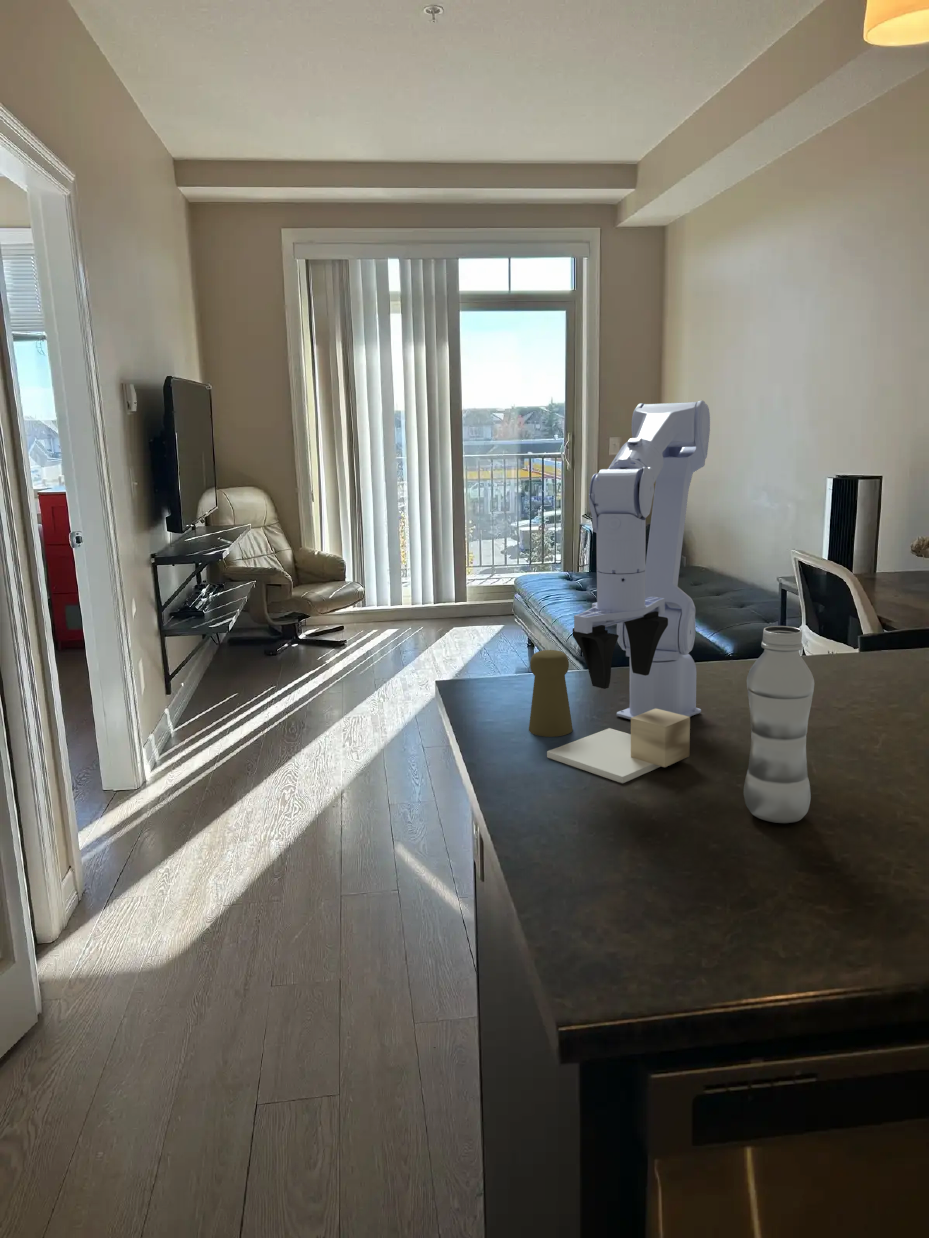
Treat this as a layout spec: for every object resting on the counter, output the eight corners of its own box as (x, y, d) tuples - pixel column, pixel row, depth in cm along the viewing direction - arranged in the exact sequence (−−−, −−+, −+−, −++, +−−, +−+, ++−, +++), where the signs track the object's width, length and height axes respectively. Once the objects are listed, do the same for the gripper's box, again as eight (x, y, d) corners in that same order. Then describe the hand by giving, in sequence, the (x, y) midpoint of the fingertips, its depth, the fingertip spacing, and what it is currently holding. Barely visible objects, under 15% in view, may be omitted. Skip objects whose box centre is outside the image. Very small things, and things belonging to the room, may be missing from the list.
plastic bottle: (778, 836, 88) (785, 640, 84) (728, 812, 94) (733, 628, 90) (824, 821, 91) (833, 631, 87) (773, 798, 97) (780, 619, 93)
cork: (570, 737, 118) (569, 657, 116) (525, 736, 120) (523, 656, 117) (574, 722, 124) (573, 646, 122) (531, 721, 125) (529, 645, 123)
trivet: (609, 733, 119) (609, 728, 119) (684, 756, 110) (684, 749, 110) (547, 757, 112) (547, 751, 111) (622, 783, 103) (622, 776, 103)
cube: (655, 746, 112) (655, 708, 111) (689, 756, 108) (690, 716, 107) (630, 757, 109) (630, 717, 107) (664, 767, 105) (665, 727, 104)
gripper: (633, 559, 114) (633, 662, 116) (554, 575, 104) (556, 686, 107) (679, 564, 108) (677, 672, 111) (600, 581, 99) (600, 698, 102)
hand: (621, 680), depth 109 cm, fingers open, 7 cm apart
